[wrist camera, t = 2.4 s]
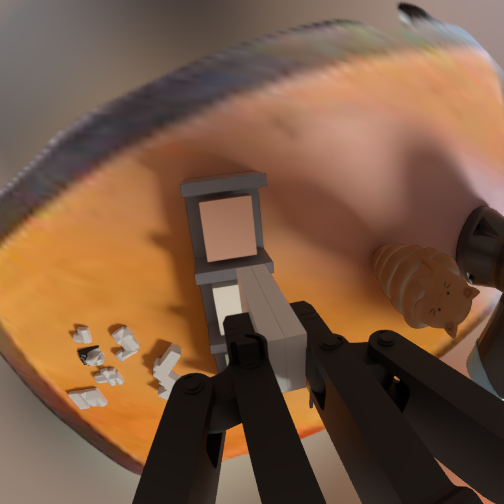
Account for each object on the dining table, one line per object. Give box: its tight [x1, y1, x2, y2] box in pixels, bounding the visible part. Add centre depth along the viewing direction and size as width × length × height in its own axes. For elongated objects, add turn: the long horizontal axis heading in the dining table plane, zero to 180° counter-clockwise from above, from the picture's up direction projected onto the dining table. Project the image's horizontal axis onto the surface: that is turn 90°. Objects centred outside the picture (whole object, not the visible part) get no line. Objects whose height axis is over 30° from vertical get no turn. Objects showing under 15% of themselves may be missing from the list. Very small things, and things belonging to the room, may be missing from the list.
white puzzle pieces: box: [68, 326, 181, 409], centre depth 35 cm, size 20×24×2 cm
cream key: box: [212, 279, 242, 335], centre depth 32 cm, size 5×6×2 cm
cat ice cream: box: [372, 244, 480, 339], centre depth 30 cm, size 9×8×18 cm
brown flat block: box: [199, 193, 257, 262], centre depth 29 cm, size 5×6×2 cm
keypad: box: [180, 171, 274, 373], centre depth 33 cm, size 8×28×6 cm, turn 6°
